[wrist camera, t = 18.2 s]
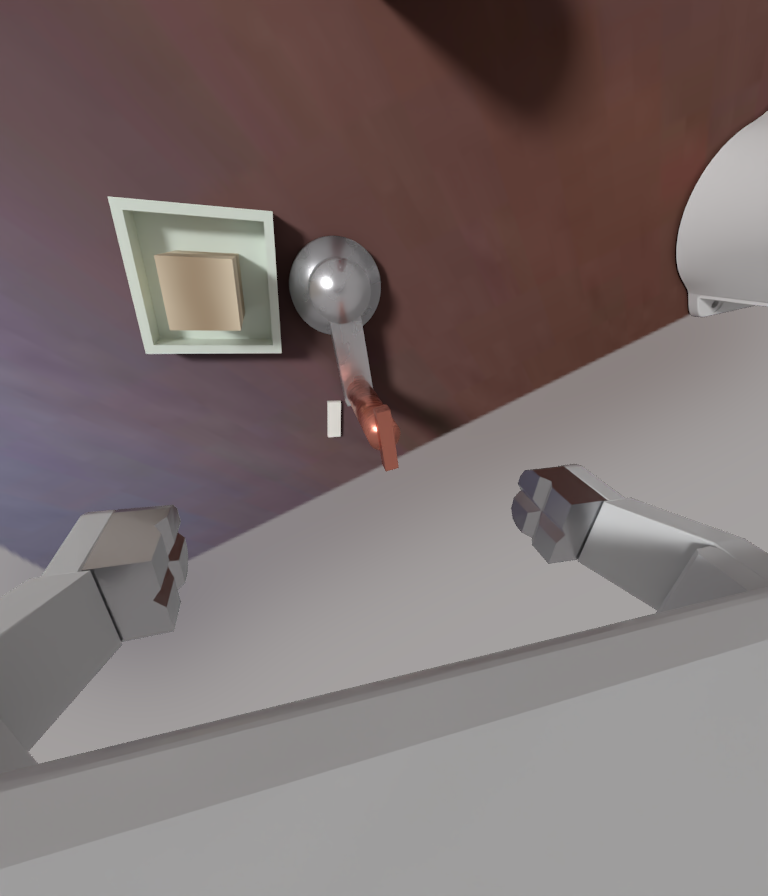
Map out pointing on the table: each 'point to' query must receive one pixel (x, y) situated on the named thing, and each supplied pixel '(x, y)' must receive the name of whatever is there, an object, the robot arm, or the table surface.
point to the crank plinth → (311, 257)
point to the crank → (353, 348)
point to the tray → (202, 230)
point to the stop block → (201, 290)
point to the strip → (334, 418)
